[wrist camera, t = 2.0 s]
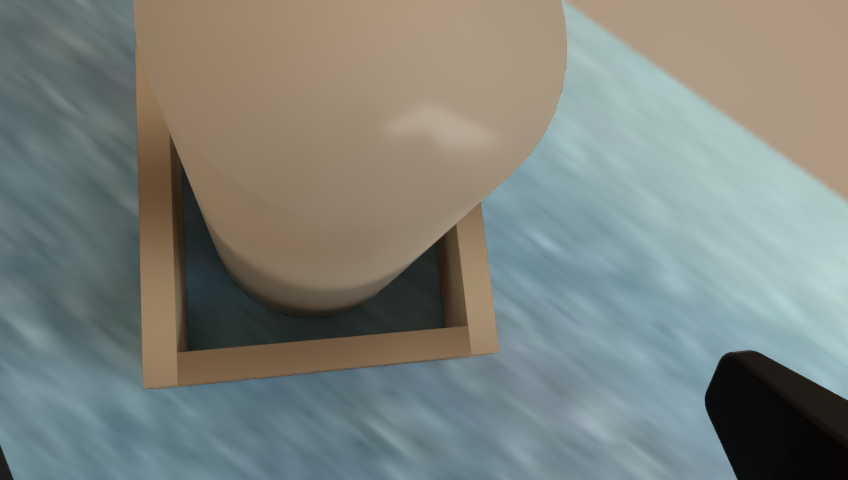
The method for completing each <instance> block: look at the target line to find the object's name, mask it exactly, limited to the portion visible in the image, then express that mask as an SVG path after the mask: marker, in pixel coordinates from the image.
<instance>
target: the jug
mask: <svg viewBox="0 0 848 480" xmlns="http://www.w3.org/2000/svg"><path fill="white" fill-rule="evenodd" d="M133 13H134V23H135V33H136V40H137V44H138V48H139V51H140V55H141V59H142V63H143V67H144V69H145V72H146V74H147V77H148V79H149V82H150V84H151V87H152V89H153V92H154V94H155V97H156V99H157V102H158V104H159V107H160V109H161V112H162V114H163V117H164V119H165V122H166V124H167V127H168V129H169V132H170V134H171V137H172V139H173V142H174V145H175V147H176V150H177V152H178V155H179V157H180V160H181V162H182V165H183V167H184V170H185V172H186V175H187V177H188V180H189V182H190V185H191V187H192V190H193V192H194V195H195V197H196V200H197V202H198V205H199V207H200V210H201V212H202V215H203V217H204V220H205V223H206V225H207V228H208V230H209V233H210V235H211V238H212V240H213V243H214V245H215V248H216V250H217V253H218V255H219V257H220V260H221V262H222V264H223V266H224V268H225V269H226V271H227V273H228V274H229V276H230V277H231V278H232V280H233V281H234V282H235V283H236V285H237V286H238V287H239V288H240V289H241V290H243V291H244V292H245V293H246V294H247V295H248V296H249V297H251V298H252V299H254V300H255V301H256V302H258V303H260V304H261V305H263V306H265V307H267V308H269V309H271V310H274V311H276V312H279V313H282V314H286V315H290V316H294V317H303V318H323V317H330V316H335V315H339V314H342V313H346V312H348V311H350V310H353V309H355V308H357V307H359V306H361V305H363V304H364V303H366V302H368V301H369V300H370V299H372V298H373V297H374V296H375V295H377V294H378V293H379V292H380V291H381V290H383V289H384V288H385V287H386V286H387V285H388V284H389V283H390V282H391V281H393V280H394V279H395V278H396V277H397V276H398V275H399V274H400V273H402V272H403V271H404V270H405V269H406V268H407V267H408V266H409V265H410V264H412V263H413V262H414V261H415V260H416V259H417V258H418V257H419V256H420V255H422V254H423V253H424V252H425V251H426V250H427V249H428V248H429V247H431V246H432V245H433V244H434V243H435V242H436V241H437V240H438V239H439V238H441V237H442V236H443V235H444V234H445V233H446V232H447V231H448V230H450V229H451V228H452V227H453V226H454V225H455V224H456V223H457V222H458V221H460V220H461V219H462V218H463V217H464V216H465V215H466V214H467V213H469V212H470V211H471V210H472V209H473V208H474V207H475V206H476V205H477V204H479V203H480V202H481V201H482V200H483V199H484V198H485V197H486V196H488V195H489V194H490V193H491V192H492V191H493V190H494V189H495V188H496V187H498V186H499V185H500V184H501V183H502V182H503V181H504V180H505V179H506V178H508V177H509V176H510V175H511V174H512V173H513V172H514V171H515V170H516V169H517V168H518V167H519V166H520V165H521V163H522V162H523V161H524V160H525V159H526V158H527V157H528V156H529V155H530V153H531V152H532V151H533V149H534V148H535V146H536V145H537V143H538V142H539V141H540V139H541V138H542V136H543V135H544V133H545V131H546V129H547V127H548V125H549V123H550V121H551V119H552V117H553V115H554V113H555V110H556V107H557V104H558V101H559V98H560V95H561V92H562V87H563V81H564V76H565V70H566V59H567V35H566V24H565V16H564V12H563V8H562V3H561V0H134V2H133Z"/></svg>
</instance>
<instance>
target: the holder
mask: <svg viewBox="0 0 848 480" xmlns="http://www.w3.org/2000/svg"><path fill="white" fill-rule="evenodd" d="M135 58H136V102H137V146H138V190H139V233H140V277H141V321H142V365H143V389H162V388H172V387H181V386H191V385H201V384H211V383H220V382H230V381H240V380H250V379H259V378H269V377H279V376H289V375H298V374H308V373H318V372H328V371H337V370H347V369H357V368H367V367H376V366H386V365H396V364H405V363H415V362H425V361H435V360H444V359H454V358H464V357H474V356H480V355H486V354H492V353H499V346H498V338H497V330H496V322H495V314H494V305H493V297H492V289H491V281H490V273H489V265H488V257H487V249H486V241H485V233H484V225H483V217H482V209H481V202H480V203H479V204H477V205H476V206H475V207H474V208H473V209H472V210H471V211H470V212H469V213H467V214H466V215H465V216H464V217H463V218H462V219H461V220H460V221H458V222H457V223H456V224H455V225H454V226H453V227H452V228H451V229H450V230H448V231H447V232H446V233H445V234H444V235H443V236H442V237H441V238H439V239H438V240H437V241H436V249H437V258H438V267H439V276H440V285H441V294H442V303H443V312H444V321H445V328H440V329H429V330H418V331H407V332H396V333H385V334H374V335H363V336H353V337H342V338H331V339H320V340H309V341H298V342H287V343H276V344H265V345H254V346H243V347H232V348H221V349H210V350H199V351H188V329H187V301H186V274H185V246H184V218H183V190H182V163H181V160H180V157H179V155H178V152H177V150H176V147H175V145H174V142H173V139H172V137H171V134H170V132H169V129H168V127H167V124H166V122H165V119H164V117H163V114H162V112H161V109H160V107H159V104H158V102H157V99H156V97H155V94H154V92H153V89H152V87H151V84H150V82H149V79H148V77H147V74H146V72H145V69H144V67H143V63H142V59H141V55H140V51H139V48H138V44H137V42H135Z"/></svg>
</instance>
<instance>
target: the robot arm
mask: <svg viewBox="0 0 848 480" xmlns="http://www.w3.org/2000/svg"><path fill="white" fill-rule="evenodd" d="M705 406H706V410H707V413H708V416H709V418H710V420H711V422H712V424H713V427H714V429H715V431H716V433H717V435H718V438H719V440H720V442H721V444H722V446H723V449H724V451H725V453H726V455H727V457H728V460H729V462H730V464H731V466H732V468H733V471H734V473H735V475H736V477H737V479H738V480H848V400H846V399H844V398H842V397H840V396H839V395H837V394H835V393H833V392H831V391H829V390H828V389H826V388H824V387H822V386H820V385H818V384H816V383H815V382H813V381H811V380H809V379H807V378H805V377H803V376H802V375H800V374H798V373H796V372H794V371H792V370H790V369H789V368H787V367H785V366H783V365H781V364H779V363H777V362H776V361H774V360H772V359H770V358H768V357H766V356H764V355H763V354H761V353H759V352H756V351H751V350H746V351H737V352H729V353H726V354H725V355H724V356H722V357H721V359H720V361H719V363H718V365H717V368H716V370H715V372H714V375H713V377H712V379H711V382H710V384H709V386H708V389H707V391H706V394H705ZM0 480H14V479H13V477H12V474H11V471H10V469H9V466H8V464H7V461H6V458H5V456H4V453H3V451H2V448H1V446H0Z"/></svg>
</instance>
